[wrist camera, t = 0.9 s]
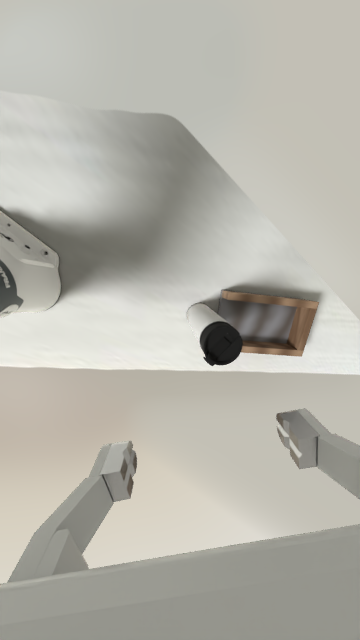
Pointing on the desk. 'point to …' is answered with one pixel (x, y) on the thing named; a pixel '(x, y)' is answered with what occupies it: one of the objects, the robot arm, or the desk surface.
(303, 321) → the u rest
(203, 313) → the travel mug
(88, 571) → the robot arm
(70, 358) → the desk surface
